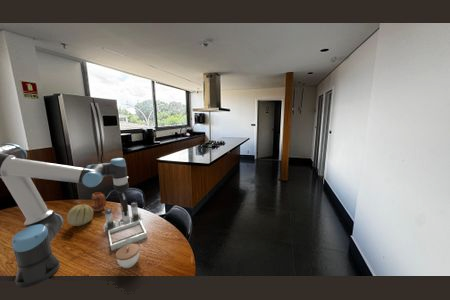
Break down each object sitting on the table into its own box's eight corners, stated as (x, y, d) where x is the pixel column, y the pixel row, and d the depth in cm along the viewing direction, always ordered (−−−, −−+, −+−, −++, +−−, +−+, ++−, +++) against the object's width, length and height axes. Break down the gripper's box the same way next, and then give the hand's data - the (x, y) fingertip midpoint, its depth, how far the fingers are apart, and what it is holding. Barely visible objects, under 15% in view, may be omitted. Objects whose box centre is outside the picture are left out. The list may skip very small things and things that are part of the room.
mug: (90, 210, 149) (88, 193, 146) (101, 206, 156) (98, 189, 154) (100, 214, 143) (98, 197, 140) (111, 210, 150) (109, 193, 147)
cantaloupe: (63, 228, 125) (59, 208, 123) (84, 217, 139) (81, 199, 137) (80, 231, 122) (76, 211, 119) (99, 219, 136) (96, 201, 133)
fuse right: (139, 218, 134) (137, 203, 132) (133, 220, 132) (131, 205, 130) (137, 216, 138) (136, 201, 135) (132, 218, 135) (130, 203, 133)
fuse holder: (143, 221, 134) (142, 216, 133) (104, 234, 120) (103, 228, 119) (140, 215, 141) (139, 210, 141) (103, 226, 127) (102, 221, 127)
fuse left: (114, 226, 125) (111, 210, 123) (107, 228, 123) (104, 212, 120) (113, 223, 128) (111, 208, 126) (106, 225, 126) (104, 209, 124)
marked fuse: (130, 223, 115) (128, 205, 113) (123, 225, 113) (120, 207, 110) (129, 220, 118) (127, 203, 116) (122, 222, 116) (119, 205, 113)
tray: (147, 237, 116) (146, 232, 115) (111, 251, 104) (110, 245, 104) (140, 224, 130) (140, 220, 129) (108, 235, 118) (107, 230, 118)
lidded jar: (143, 255, 101) (142, 240, 99) (135, 271, 90) (133, 255, 89) (124, 256, 101) (122, 241, 99) (113, 272, 90) (110, 256, 88)
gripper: (130, 186, 106) (134, 222, 110) (125, 178, 119) (129, 210, 124) (115, 189, 101) (120, 227, 106) (112, 180, 115) (117, 214, 119)
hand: (125, 218), depth 115 cm, fingers closed on marked fuse, 4 cm apart
